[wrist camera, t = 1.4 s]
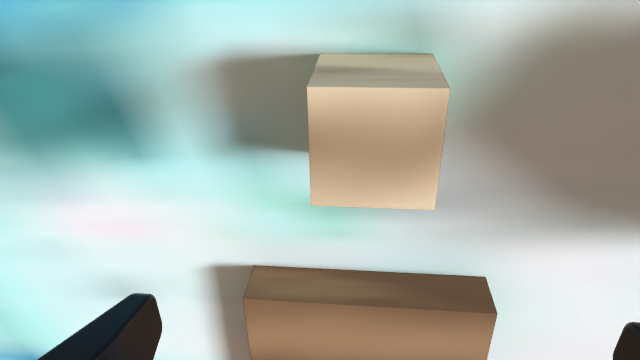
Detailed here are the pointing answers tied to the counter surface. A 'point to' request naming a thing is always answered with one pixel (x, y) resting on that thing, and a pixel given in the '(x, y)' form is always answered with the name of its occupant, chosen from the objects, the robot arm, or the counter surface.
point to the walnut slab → (366, 315)
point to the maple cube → (376, 130)
